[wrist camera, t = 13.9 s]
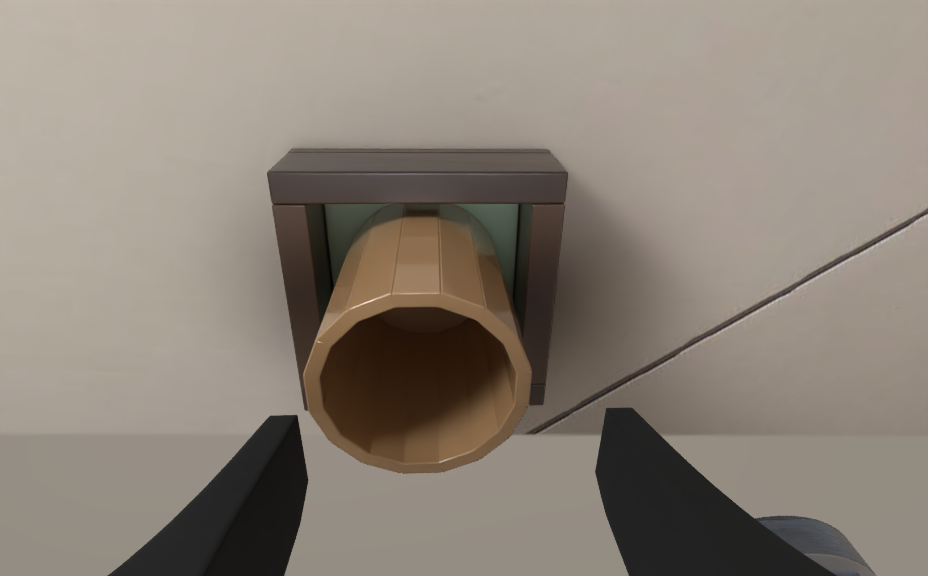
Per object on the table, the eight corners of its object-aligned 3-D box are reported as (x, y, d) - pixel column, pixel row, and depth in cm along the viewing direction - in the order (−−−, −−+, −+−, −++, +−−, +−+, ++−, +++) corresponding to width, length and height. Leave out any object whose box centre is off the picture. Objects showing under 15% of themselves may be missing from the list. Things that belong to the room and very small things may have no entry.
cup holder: (530, 359, 22) (543, 405, 19) (320, 363, 22) (304, 411, 19) (549, 149, 18) (568, 172, 15) (291, 148, 18) (265, 171, 15)
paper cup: (496, 334, 21) (523, 470, 14) (353, 337, 20) (318, 476, 14) (503, 197, 18) (540, 291, 12) (339, 197, 18) (289, 293, 12)
